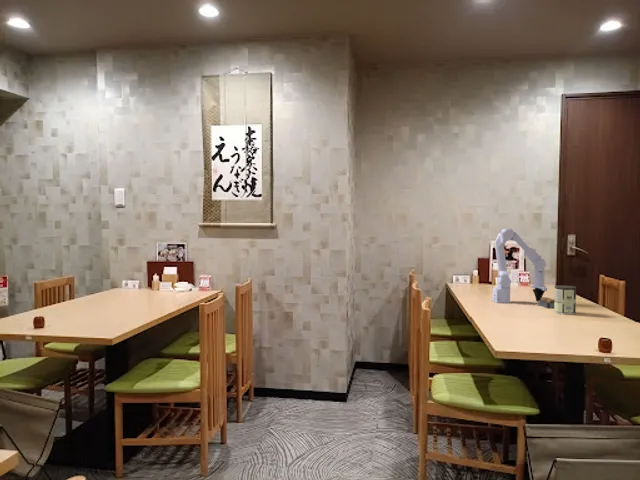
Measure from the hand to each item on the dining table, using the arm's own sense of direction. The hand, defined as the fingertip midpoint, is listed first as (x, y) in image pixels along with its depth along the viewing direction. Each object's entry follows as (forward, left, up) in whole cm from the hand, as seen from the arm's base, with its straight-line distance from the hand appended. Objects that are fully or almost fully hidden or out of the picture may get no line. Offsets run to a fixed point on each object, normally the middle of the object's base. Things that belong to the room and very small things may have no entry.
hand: (538, 301), depth 282 cm
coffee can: (-2, -30, -1) cm, 30 cm away
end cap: (0, -12, -1) cm, 12 cm away
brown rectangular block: (0, -11, -1) cm, 11 cm away
